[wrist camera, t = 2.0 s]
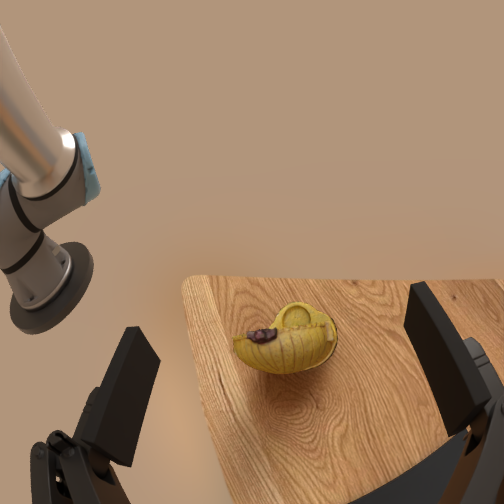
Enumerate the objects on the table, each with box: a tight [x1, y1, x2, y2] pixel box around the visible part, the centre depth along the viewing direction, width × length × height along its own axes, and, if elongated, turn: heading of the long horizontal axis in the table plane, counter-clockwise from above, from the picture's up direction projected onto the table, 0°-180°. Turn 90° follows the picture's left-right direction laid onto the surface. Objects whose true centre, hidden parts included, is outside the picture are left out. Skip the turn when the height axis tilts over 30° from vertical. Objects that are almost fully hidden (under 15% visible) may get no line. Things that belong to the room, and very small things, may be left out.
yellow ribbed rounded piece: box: [232, 301, 338, 374], centre depth 24 cm, size 12×8×15 cm
